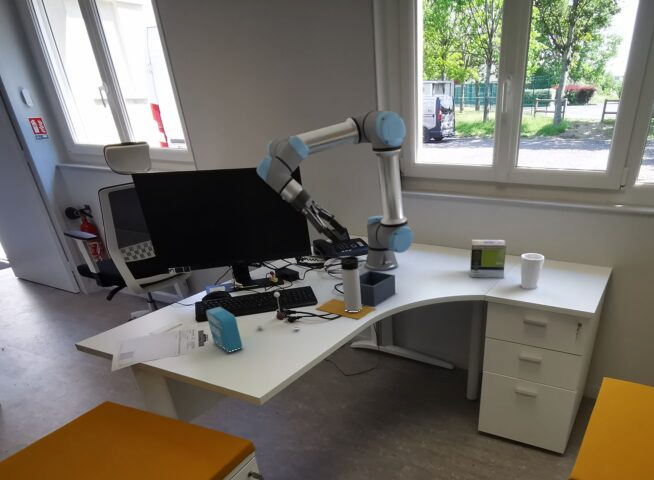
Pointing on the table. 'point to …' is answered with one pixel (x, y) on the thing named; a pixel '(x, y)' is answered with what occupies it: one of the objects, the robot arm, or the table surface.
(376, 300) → the bin
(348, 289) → the travel mug
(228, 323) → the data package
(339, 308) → the desk mat
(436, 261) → the table surface
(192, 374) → the table surface
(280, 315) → the molecular model
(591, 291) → the table surface
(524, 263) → the foam cup
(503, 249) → the tea box
